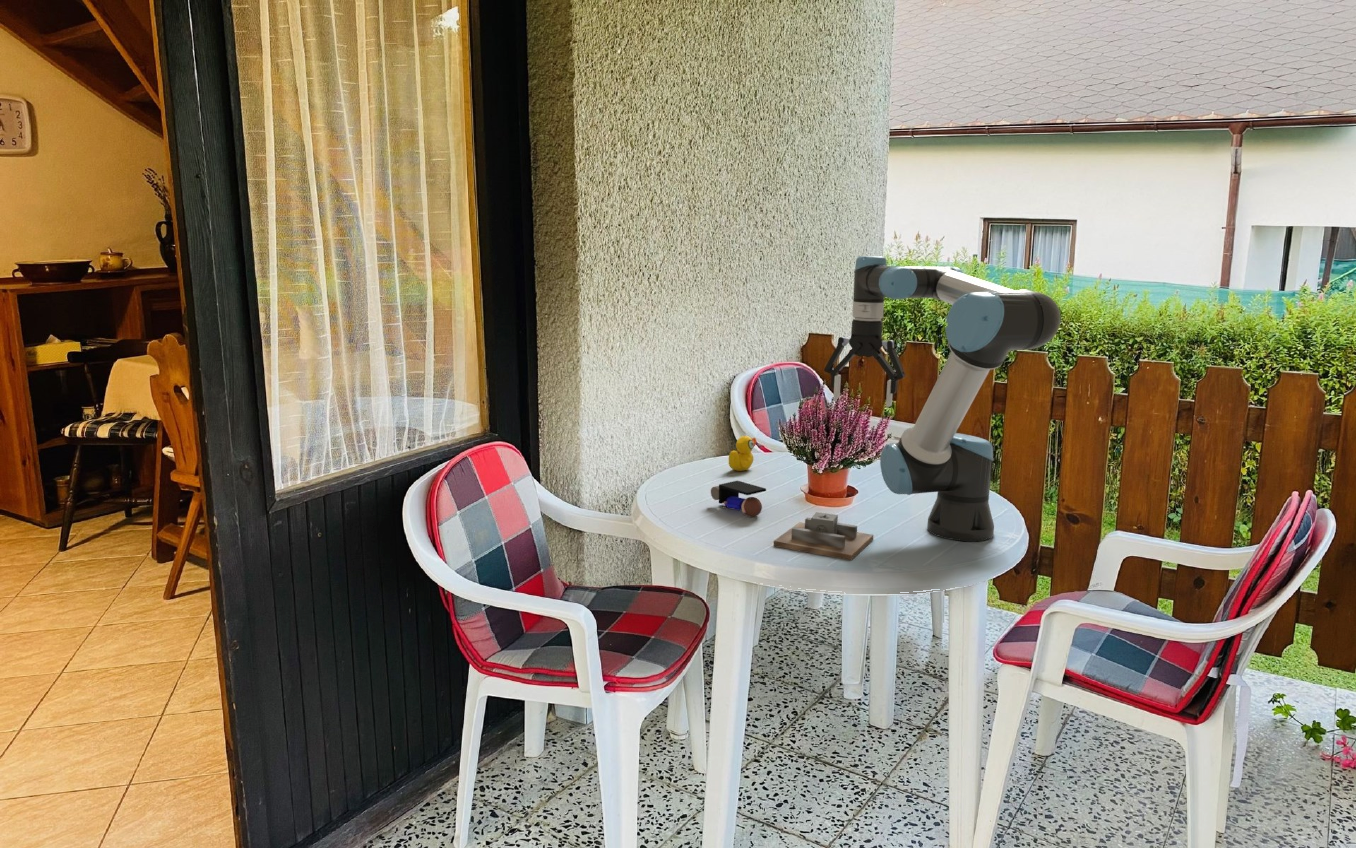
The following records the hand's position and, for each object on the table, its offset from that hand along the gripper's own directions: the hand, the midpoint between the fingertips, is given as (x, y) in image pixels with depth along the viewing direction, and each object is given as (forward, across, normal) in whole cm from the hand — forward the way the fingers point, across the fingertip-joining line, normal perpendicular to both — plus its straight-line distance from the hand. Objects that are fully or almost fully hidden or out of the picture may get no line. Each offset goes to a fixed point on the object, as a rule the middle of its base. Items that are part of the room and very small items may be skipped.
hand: (862, 403), depth 237 cm
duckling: (+27, -40, +17) cm, 51 cm away
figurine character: (+27, -24, -21) cm, 42 cm away
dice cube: (+26, +3, -33) cm, 42 cm away
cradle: (+27, +3, -33) cm, 43 cm away
